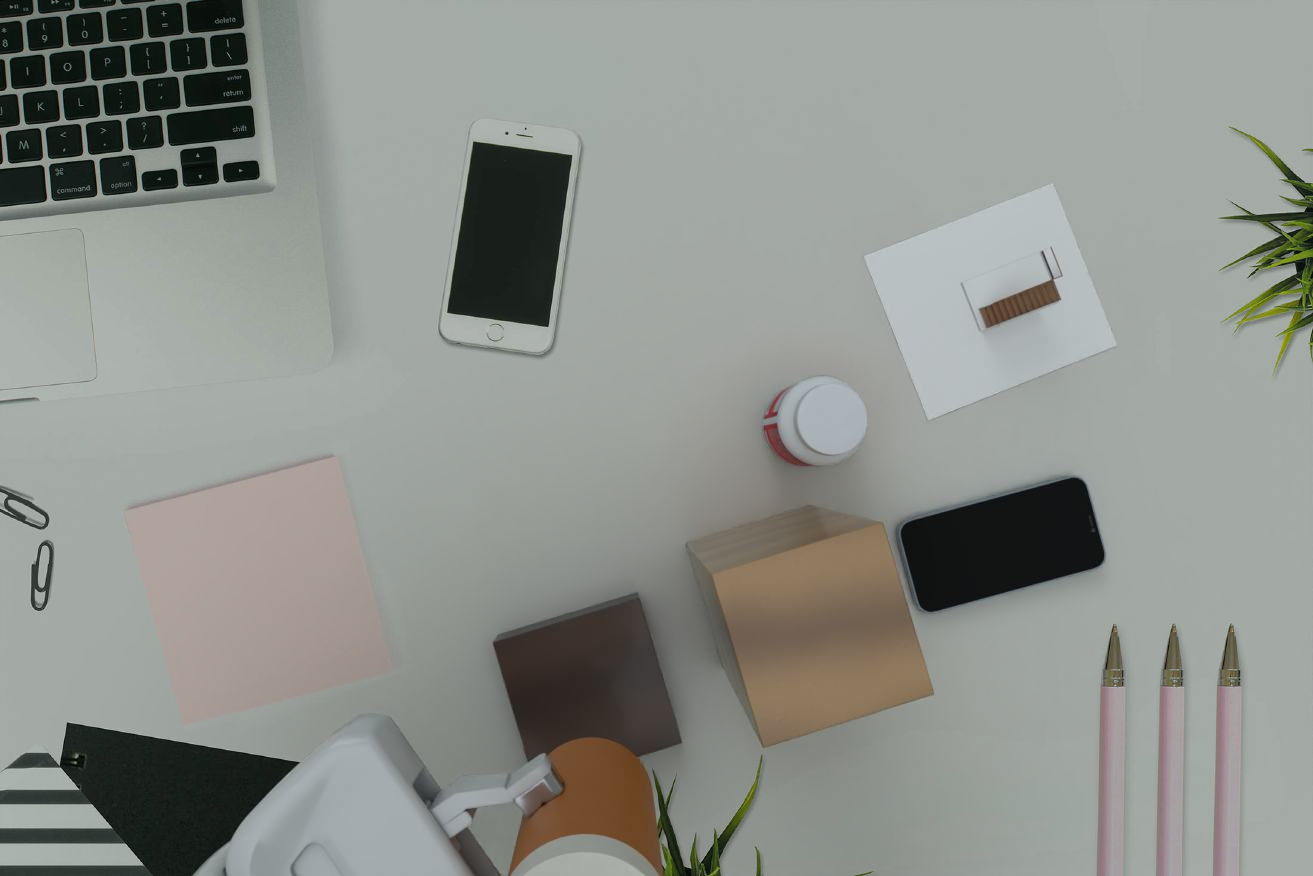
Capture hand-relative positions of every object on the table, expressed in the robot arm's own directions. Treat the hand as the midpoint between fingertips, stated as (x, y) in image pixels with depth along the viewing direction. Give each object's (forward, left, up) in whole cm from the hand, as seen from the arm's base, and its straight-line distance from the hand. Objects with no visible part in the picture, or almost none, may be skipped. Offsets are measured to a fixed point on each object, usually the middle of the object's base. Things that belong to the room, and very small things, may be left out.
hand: (604, 843), depth 40 cm
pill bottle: (+14, -19, -33) cm, 40 cm away
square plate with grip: (+19, -36, -33) cm, 52 cm away
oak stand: (+3, -13, -33) cm, 35 cm away
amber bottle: (0, +1, -6) cm, 7 cm away
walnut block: (0, +2, -33) cm, 33 cm away
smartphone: (+1, -31, -33) cm, 45 cm away
